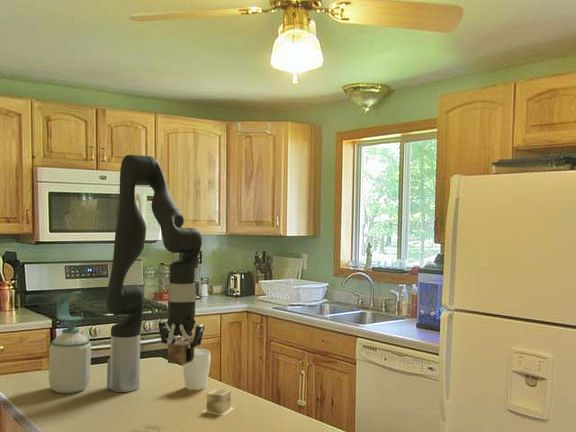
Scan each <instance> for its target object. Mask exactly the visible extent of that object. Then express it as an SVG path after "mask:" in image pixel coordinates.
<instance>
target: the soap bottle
mask: <svg viewBox="0 0 576 432" xmlns="http://www.w3.org/2000/svg"><path fill="white" fill-rule="evenodd" d="M81 293H82V291H81V290H80V291H79V290H78V291H73V292H69V293H65V294H62V295H60V296H58V297H57V299H56V319H57V320H58V321H61V322H62V321H63V322H64V323H65V324H66V325H67V328H63V329H62V330H61V334H60V335H58V336H57V337H55V338H54V339H53V340H52V341H51V342H50V344H51V345H50V346H49V350H48V351H49V353H48V354H49V355H48V382H49V383H48V384H49V387H50V389H52V390H53V391H54V392H55V393H59V394H75V393H78V392H81V391H83V390H84V389H86V388H87V387H88V384H89V382H90V379H91V367H92V365H91V362H92V361H91V358H92V353H91V352H92V344H91V340H90V339H89V338H88V337H87V336H85V335H83V334H81V332H80V328H77V327H75V325H77V324H78V323H77V322H78V321H81V320H83V317H81V316H72V315H70V299H71V297H72V296H75V295H78V294H81ZM65 324H64V325H65Z"/></svg>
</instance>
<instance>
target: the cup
mask: <svg viewBox="0 0 576 432" xmlns="http://www.w3.org/2000/svg"><path fill="white" fill-rule="evenodd" d="M211 360H212V359H211V351H210V350H209V349H205V348H194V358H193V361H191V362H189V363H186V364H184V365H182V369H183V371H182V372H183V377H184V378H183V379H184V386H185V389H187V390H189V391H200V390H205V389H207V387H208V379H209V373H210V368H211Z"/></svg>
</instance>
